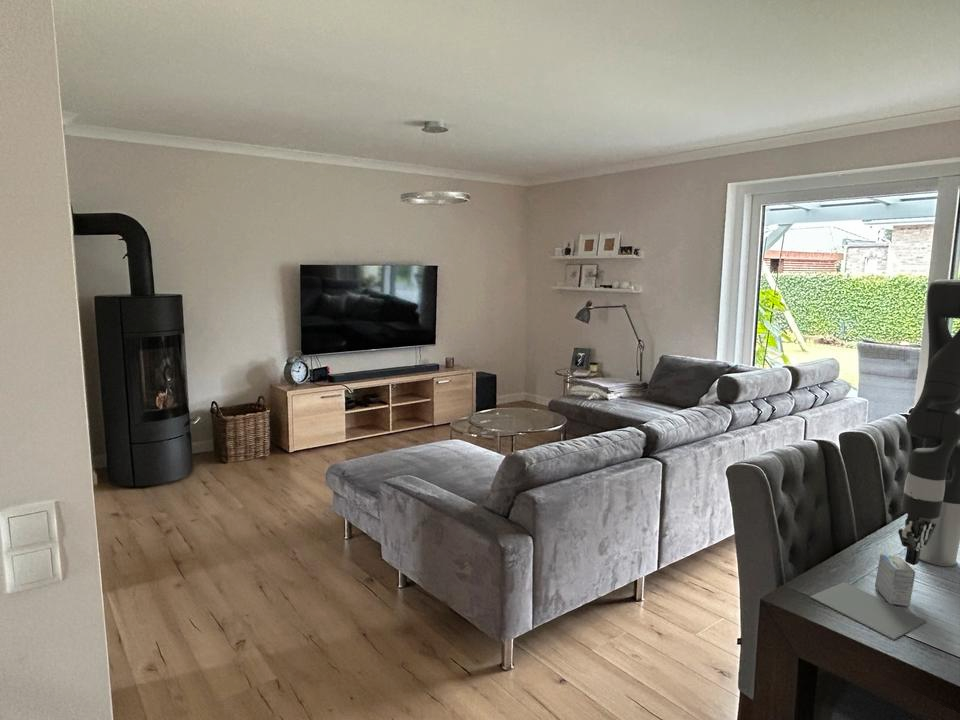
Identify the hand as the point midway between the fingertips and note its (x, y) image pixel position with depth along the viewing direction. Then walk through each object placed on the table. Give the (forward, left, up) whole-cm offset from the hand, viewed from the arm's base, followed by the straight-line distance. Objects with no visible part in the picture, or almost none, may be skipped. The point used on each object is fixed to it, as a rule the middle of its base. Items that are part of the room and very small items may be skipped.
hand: (911, 563), depth 147 cm
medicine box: (+7, 0, -7) cm, 10 cm away
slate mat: (+17, 0, -7) cm, 19 cm away
